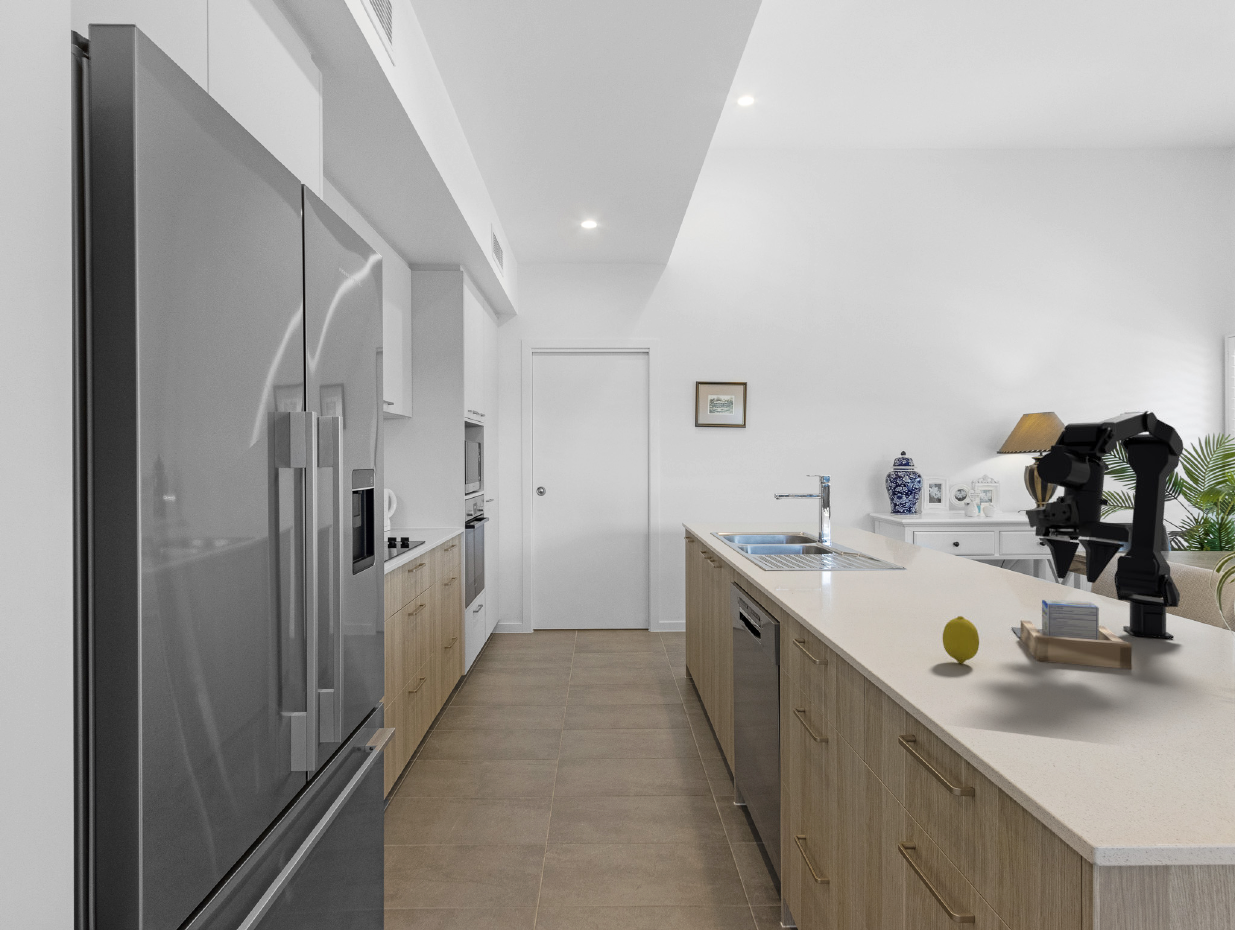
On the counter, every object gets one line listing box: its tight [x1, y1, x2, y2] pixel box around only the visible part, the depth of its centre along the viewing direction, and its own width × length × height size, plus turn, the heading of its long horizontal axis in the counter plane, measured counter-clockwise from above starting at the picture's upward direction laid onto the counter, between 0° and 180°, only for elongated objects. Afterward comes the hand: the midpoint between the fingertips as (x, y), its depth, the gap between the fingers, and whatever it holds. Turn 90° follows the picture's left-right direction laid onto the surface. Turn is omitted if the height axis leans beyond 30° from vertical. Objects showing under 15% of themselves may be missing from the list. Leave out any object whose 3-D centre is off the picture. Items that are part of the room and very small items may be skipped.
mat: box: [1010, 626, 1042, 639], centre depth 134 cm, size 8×12×1 cm, turn 69°
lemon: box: [942, 615, 980, 665], centre depth 117 cm, size 6×6×8 cm
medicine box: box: [1041, 599, 1100, 640], centre depth 124 cm, size 8×4×9 cm, turn 71°
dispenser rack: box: [1020, 619, 1133, 670], centre depth 123 cm, size 16×13×4 cm
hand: (1075, 580), depth 122 cm, fingers open, 9 cm apart
